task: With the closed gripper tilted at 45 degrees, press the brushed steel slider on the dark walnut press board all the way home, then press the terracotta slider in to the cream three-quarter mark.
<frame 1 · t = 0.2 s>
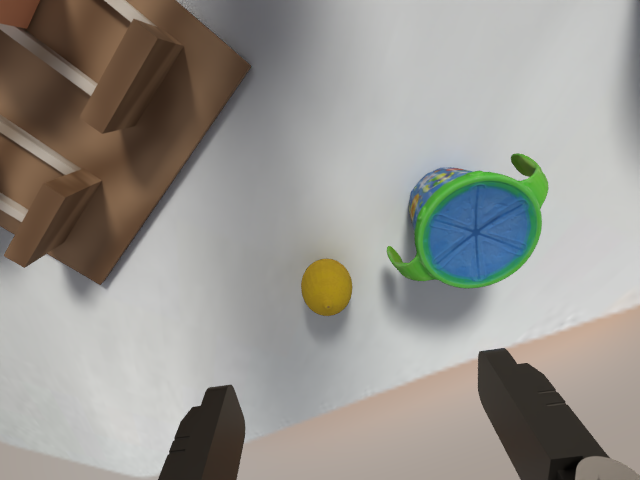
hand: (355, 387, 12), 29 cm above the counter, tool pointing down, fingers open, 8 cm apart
press board: (52, 102, 35), on the counter
snack cup: (440, 199, 40), on the counter
lemon: (325, 268, 43), on the counter
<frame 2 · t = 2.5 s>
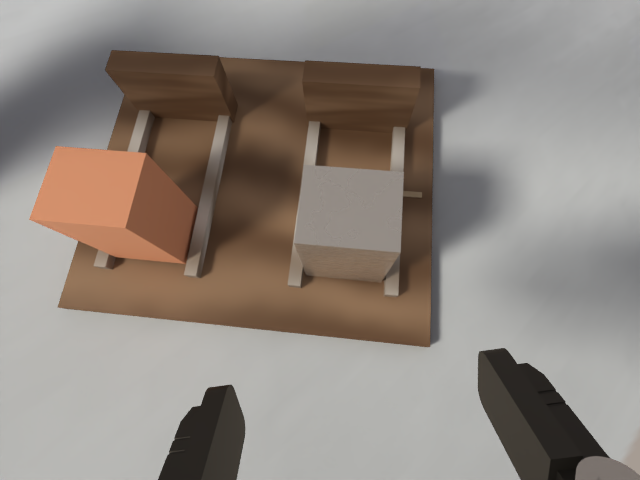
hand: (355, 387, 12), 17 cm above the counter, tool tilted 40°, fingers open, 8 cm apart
terracotta slider: (129, 212, 26), point 6 cm above the counter, slide at 0.0 cm
steel slider: (347, 231, 25), point 6 cm above the counter, slide at 0.0 cm
press board: (264, 182, 33), on the counter
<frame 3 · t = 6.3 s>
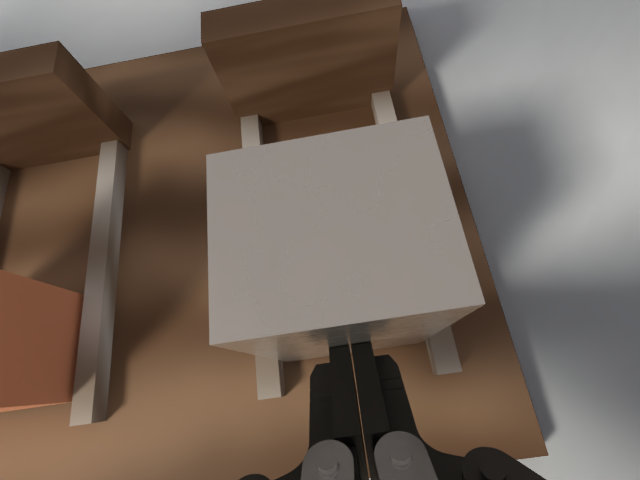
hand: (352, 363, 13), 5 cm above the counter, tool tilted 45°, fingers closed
steel slider: (339, 271, 13), point 6 cm above the counter, slide at 0.4 cm, touching gripper
press board: (193, 228, 21), on the counter
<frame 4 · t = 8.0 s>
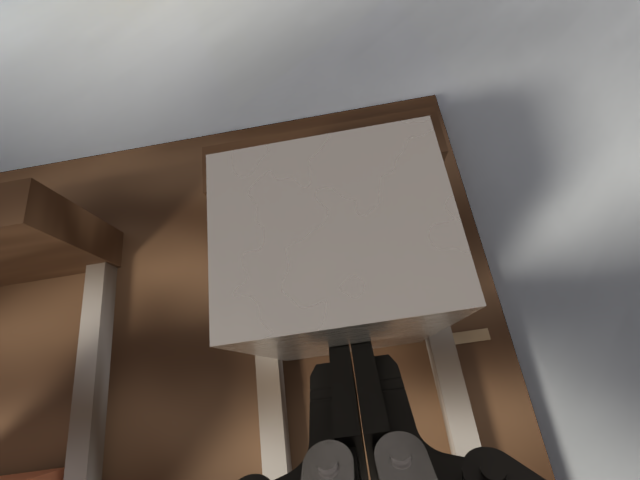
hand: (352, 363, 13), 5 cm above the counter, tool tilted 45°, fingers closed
steel slider: (339, 271, 13), point 6 cm above the counter, slide at 8.1 cm, touching gripper
press board: (193, 366, 18), on the counter
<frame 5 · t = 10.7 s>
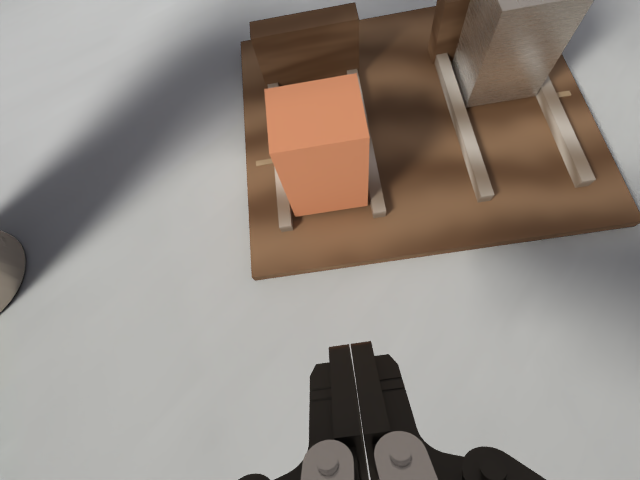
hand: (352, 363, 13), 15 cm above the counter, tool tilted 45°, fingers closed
terracotta slider: (321, 154, 26), point 6 cm above the counter, slide at 0.0 cm
steel slider: (511, 36, 28), point 6 cm above the counter, slide at 8.0 cm
press board: (406, 123, 34), on the counter
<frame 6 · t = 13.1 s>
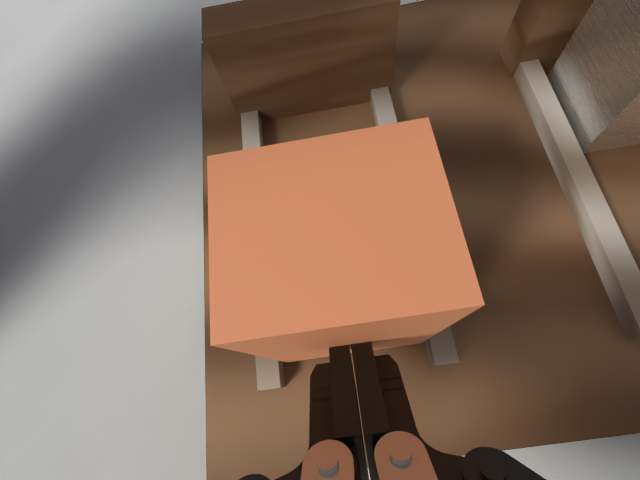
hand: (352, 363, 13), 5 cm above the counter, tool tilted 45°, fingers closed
terracotta slider: (339, 272, 13), point 6 cm above the counter, slide at 0.0 cm, touching gripper
press board: (471, 176, 20), on the counter
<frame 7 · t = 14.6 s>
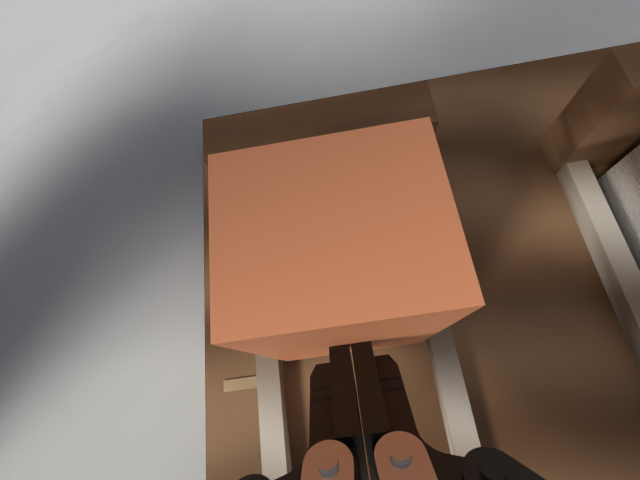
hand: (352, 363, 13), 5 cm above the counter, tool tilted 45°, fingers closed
terracotta slider: (339, 271, 13), point 6 cm above the counter, slide at 6.7 cm, touching gripper
press board: (509, 292, 18), on the counter
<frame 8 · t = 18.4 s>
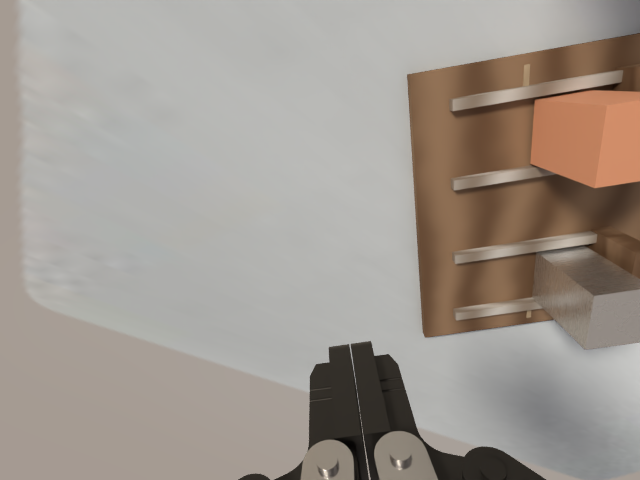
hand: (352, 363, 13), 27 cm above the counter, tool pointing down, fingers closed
terracotta slider: (592, 134, 30), point 6 cm above the counter, slide at 6.7 cm
steel slider: (583, 293, 37), point 6 cm above the counter, slide at 8.0 cm
press board: (536, 204, 39), on the counter
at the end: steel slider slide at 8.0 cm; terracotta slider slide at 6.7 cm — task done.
